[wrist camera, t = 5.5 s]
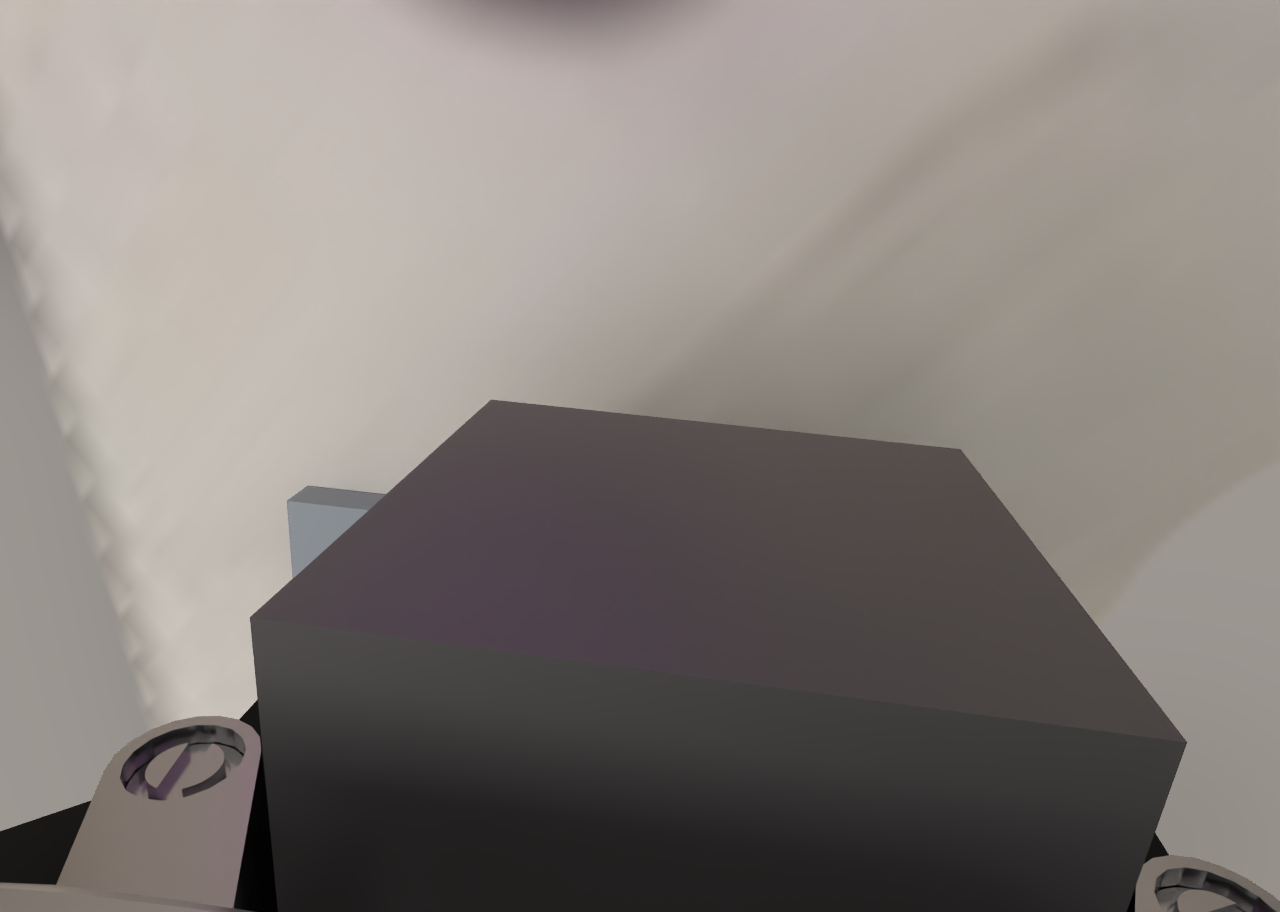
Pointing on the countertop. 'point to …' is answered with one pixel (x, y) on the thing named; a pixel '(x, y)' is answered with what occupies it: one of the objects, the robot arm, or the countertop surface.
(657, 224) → the countertop surface
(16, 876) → the robot arm
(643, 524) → the dark gray cube
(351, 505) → the hub panel
